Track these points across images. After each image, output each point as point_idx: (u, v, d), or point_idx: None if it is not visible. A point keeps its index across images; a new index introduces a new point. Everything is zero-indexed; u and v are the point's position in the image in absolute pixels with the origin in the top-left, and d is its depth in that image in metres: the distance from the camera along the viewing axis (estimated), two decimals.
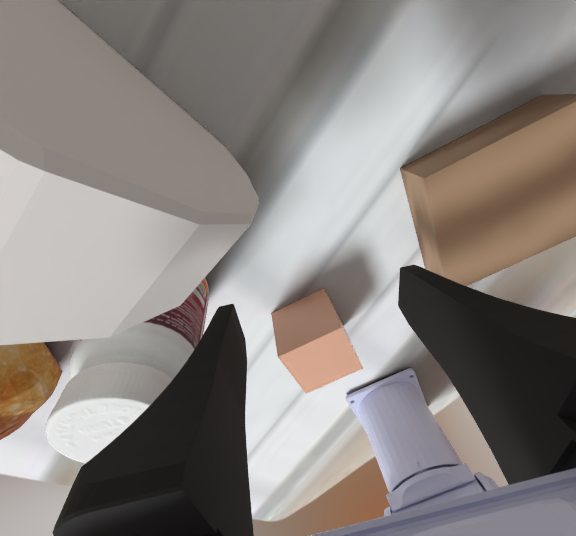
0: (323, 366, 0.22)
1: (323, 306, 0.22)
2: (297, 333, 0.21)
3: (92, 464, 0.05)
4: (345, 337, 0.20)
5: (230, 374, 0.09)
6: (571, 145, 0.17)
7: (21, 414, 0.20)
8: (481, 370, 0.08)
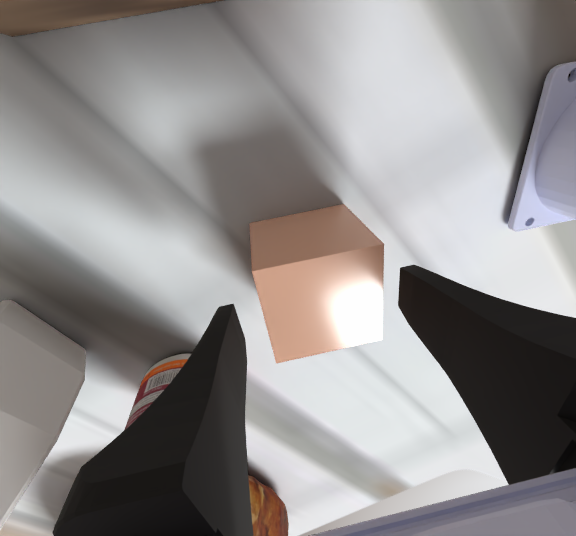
0: (334, 308, 0.12)
1: None
2: None
3: (92, 464, 0.05)
4: (281, 267, 0.11)
5: (230, 374, 0.09)
6: None
7: None
8: (481, 370, 0.08)
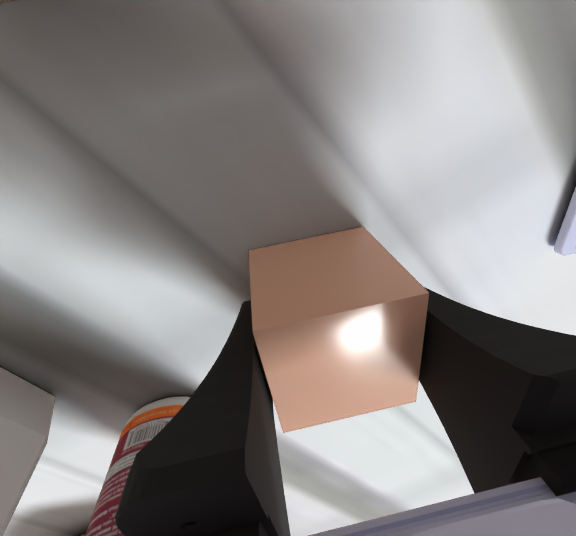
0: (359, 370, 0.09)
1: None
2: None
3: (147, 451, 0.05)
4: (291, 325, 0.08)
5: (261, 367, 0.09)
6: None
7: None
8: (447, 378, 0.08)
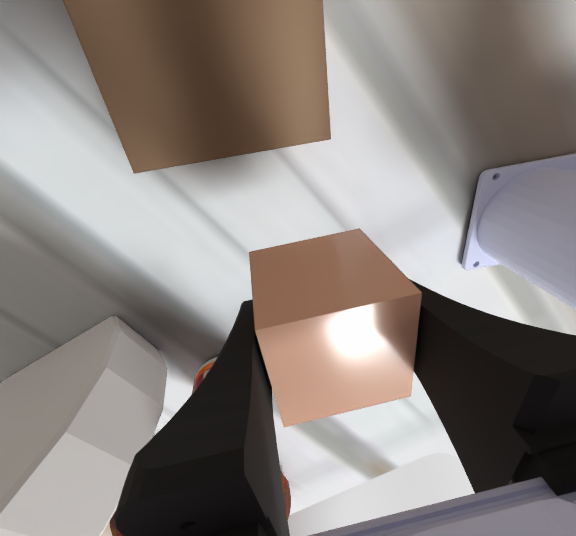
0: (356, 367, 0.10)
1: None
2: None
3: (146, 451, 0.05)
4: (292, 324, 0.08)
5: (260, 367, 0.09)
6: None
7: None
8: (448, 378, 0.08)
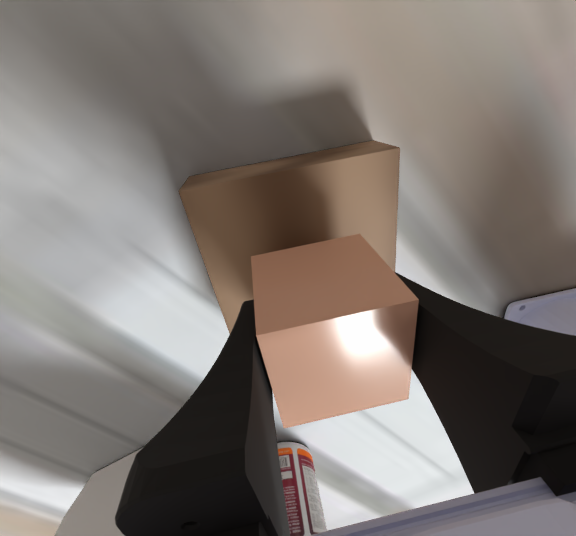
0: (355, 370, 0.10)
1: None
2: None
3: (147, 451, 0.05)
4: (292, 329, 0.09)
5: (261, 367, 0.09)
6: (241, 200, 0.13)
7: None
8: (447, 378, 0.08)
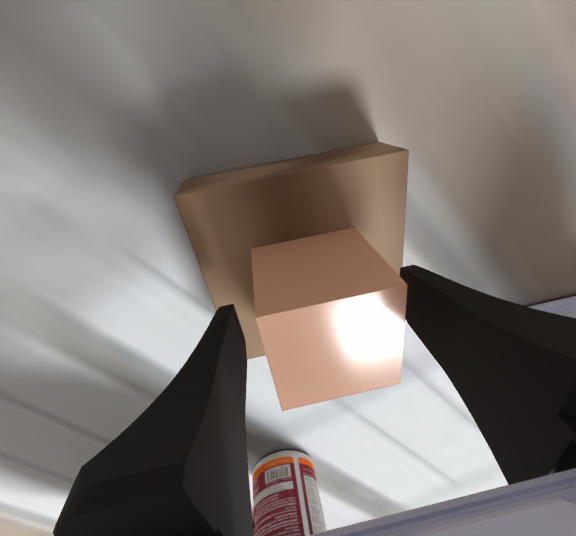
0: (348, 354, 0.10)
1: None
2: None
3: (92, 464, 0.05)
4: (289, 312, 0.09)
5: (230, 374, 0.09)
6: (240, 205, 0.12)
7: None
8: (481, 370, 0.08)
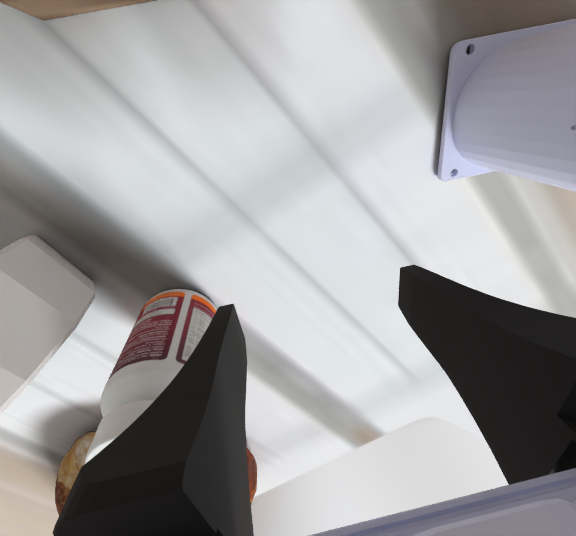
0: None
1: None
2: None
3: (92, 464, 0.05)
4: None
5: (230, 374, 0.09)
6: None
7: None
8: (481, 370, 0.08)
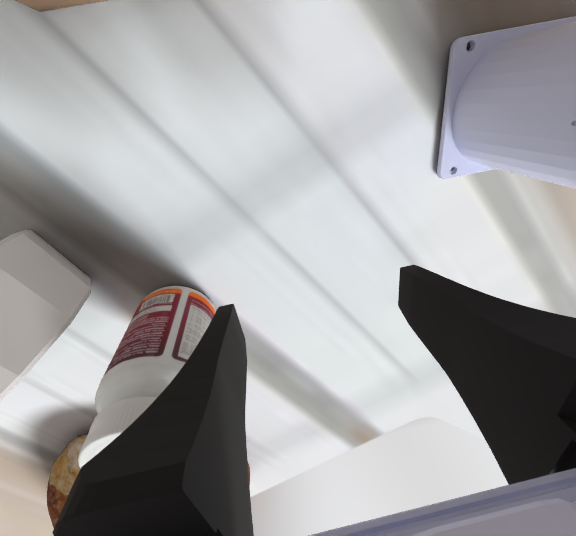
0: None
1: None
2: None
3: (92, 464, 0.05)
4: None
5: (230, 374, 0.09)
6: None
7: None
8: (481, 370, 0.08)
